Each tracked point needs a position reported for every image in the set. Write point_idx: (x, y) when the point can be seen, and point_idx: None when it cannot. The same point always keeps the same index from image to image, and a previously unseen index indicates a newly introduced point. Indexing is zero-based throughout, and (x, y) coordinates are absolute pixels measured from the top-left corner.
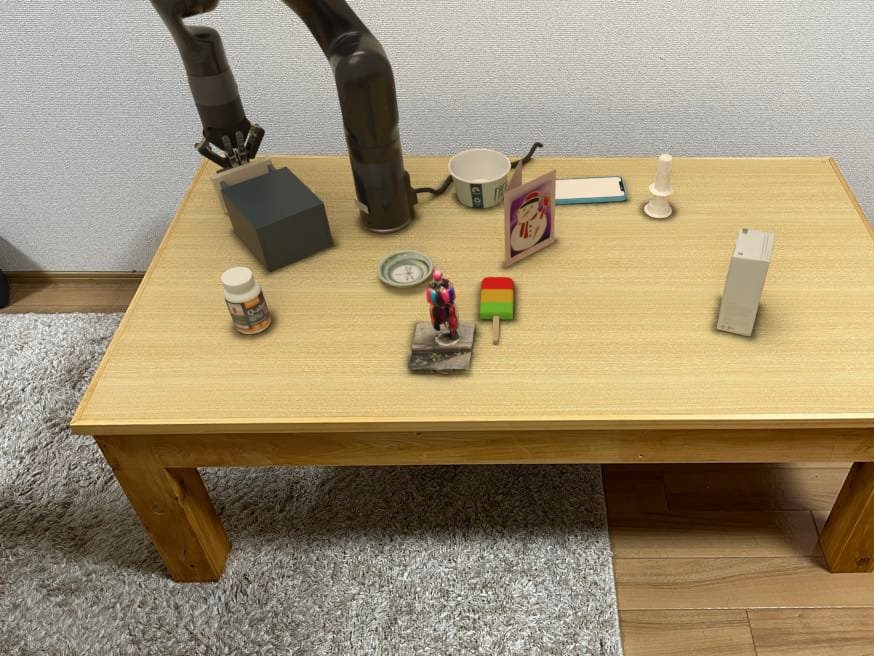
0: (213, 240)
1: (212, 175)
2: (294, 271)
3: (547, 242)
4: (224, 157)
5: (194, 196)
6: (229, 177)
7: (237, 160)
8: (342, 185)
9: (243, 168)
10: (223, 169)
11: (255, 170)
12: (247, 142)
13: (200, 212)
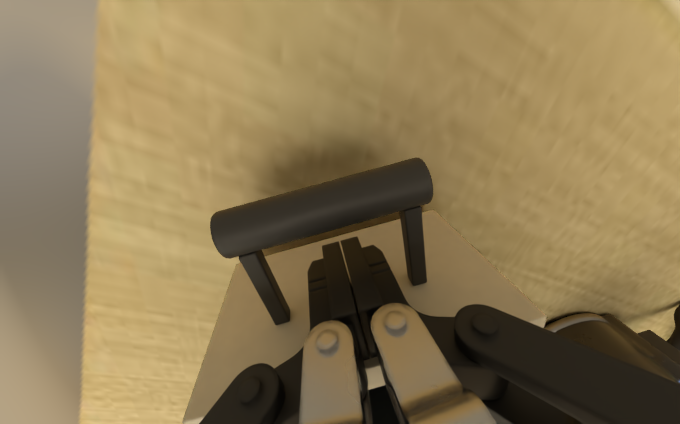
0: None
1: (198, 418)
2: None
3: None
4: (293, 415)
5: (99, 95)
6: None
7: (372, 335)
8: (584, 218)
9: (380, 385)
10: (260, 243)
11: None
12: (570, 407)
13: (154, 221)
